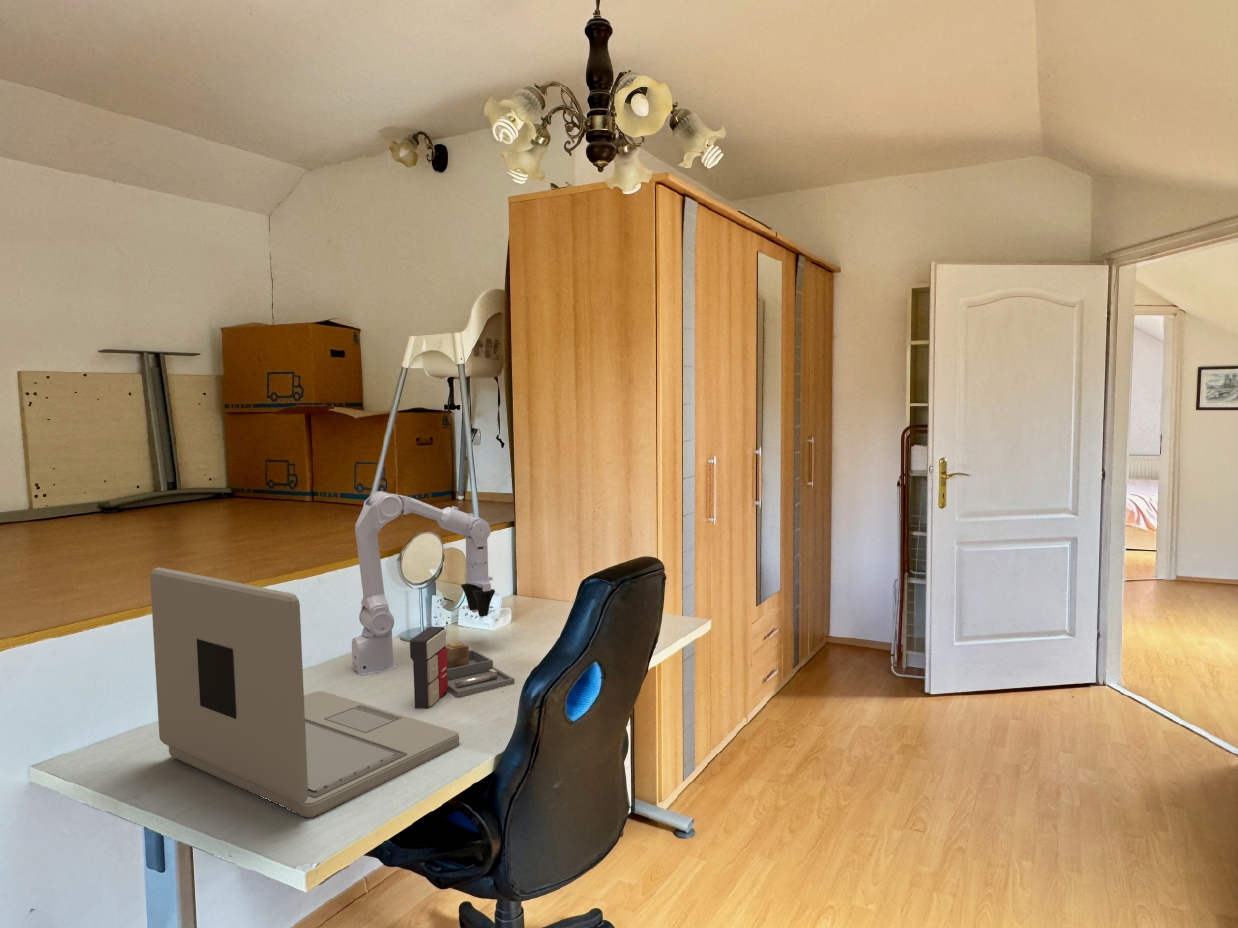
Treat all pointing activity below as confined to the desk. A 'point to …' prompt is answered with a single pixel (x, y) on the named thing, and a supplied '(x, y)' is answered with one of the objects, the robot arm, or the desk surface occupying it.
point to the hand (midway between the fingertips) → (478, 612)
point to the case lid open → (480, 684)
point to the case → (471, 666)
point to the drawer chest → (429, 666)
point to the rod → (476, 680)
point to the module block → (457, 655)
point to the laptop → (267, 700)
